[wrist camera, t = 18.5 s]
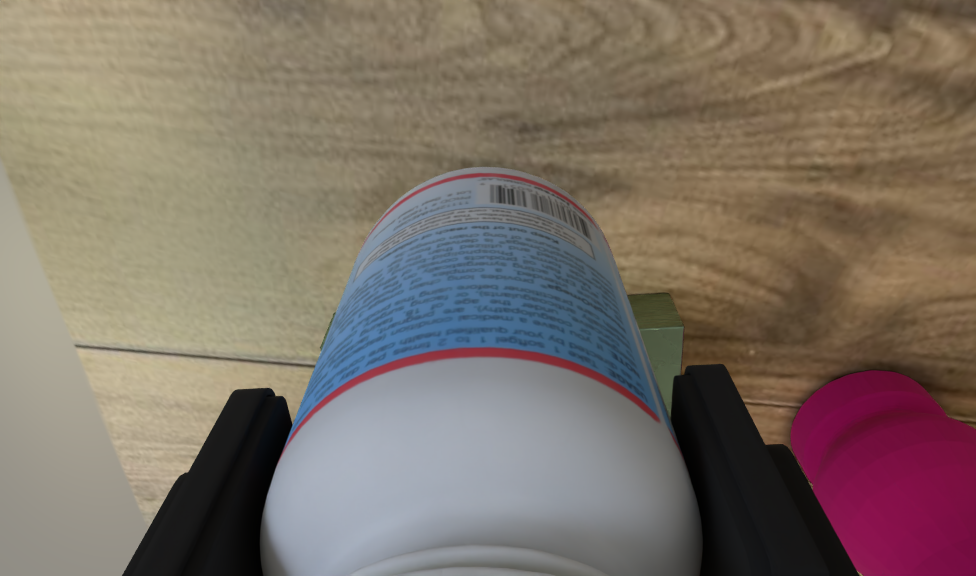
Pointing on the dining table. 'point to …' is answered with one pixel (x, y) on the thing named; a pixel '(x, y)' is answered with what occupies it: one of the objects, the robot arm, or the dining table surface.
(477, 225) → the pill bottle
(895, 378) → the pepper mill
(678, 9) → the dining table surface
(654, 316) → the green button base
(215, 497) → the robot arm
